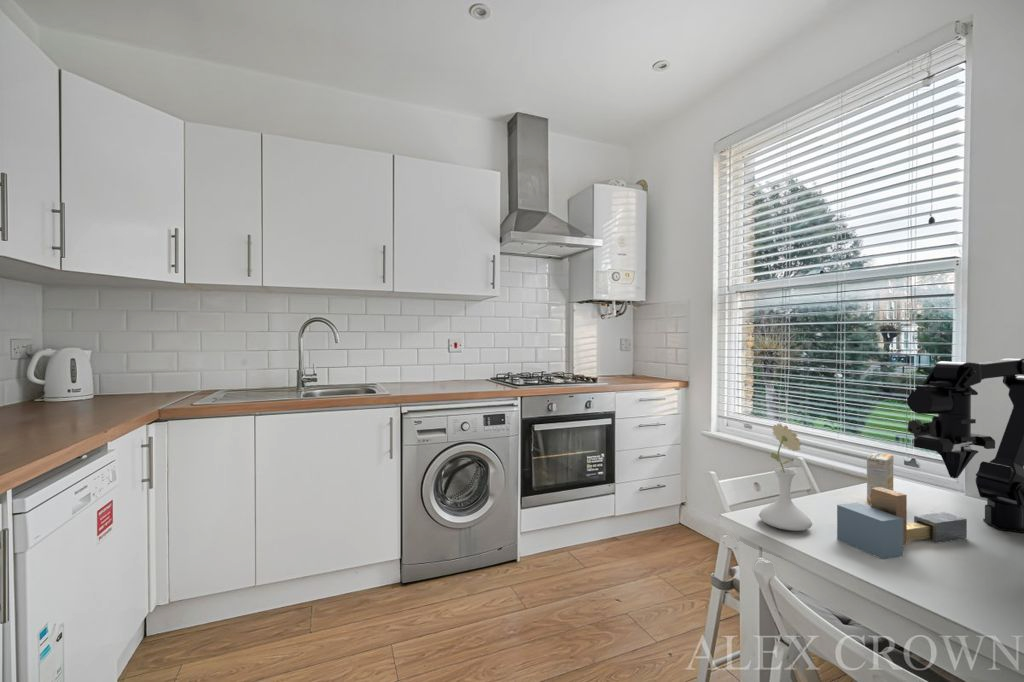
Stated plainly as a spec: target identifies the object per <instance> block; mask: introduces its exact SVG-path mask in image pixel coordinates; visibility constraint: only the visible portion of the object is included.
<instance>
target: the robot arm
mask: <svg viewBox="0 0 1024 682" xmlns="http://www.w3.org/2000/svg"><path fill="white" fill-rule="evenodd" d="M1001 377H1002V383H1003V384H1004V386H1006V387H1007V388H1008V389H1009V390H1008V397H1009V399H1010V401H1011V404H1012V409H1011V413H1010V415H1009V417H1008V420H1007V423H1006V427H1005V429H1004V432H1003V434H1002V438H1001V439H1000V443H999V445H998V449H997V451H996V454H995V457H994V458H993V459H991V460H990V461H985V460H983V461H981V462H980V463H979V467H978V470H977V471H976V473H975V485H976V487H977V491H978V494H979V497H980V498H984V499H986V503H987V504H985V505H984V518H982V520H983V522H984V523H987V524H988V523H989V524H988V525H990V526H991V527H994V528H995V529H997V530H1000V531H1008V532H1009V531H1010V532H1017V533H1024V358H1015V357H1013V358H1012V357H1011V358H1010V357H1009V358H1007V357H1006V358H1004V357H1003V358H1001V359H997V360H996V359H995V360H988V361H978V362H968V361H967V362H965V361H943V360H941V361H938V362H936V363H935V366H933V368H932V369H931V370H930V372H929V374H928V375H927V377H926V379H925V380H924V382H923V383H922V385H920V384H919V385H915V390H913V391H911V393H910V394H909V395H908V397H907V399H906V403H907V405H908V408H909V409H910V410H911V411H912V412H913V413H915V414H918V415H933V416H932V418H931V421H929V422H922V421H921V420H920V419H915V420H908V422H907V423H908V425H907V432H909V433H910V434H912V435H913V437H914V438H912V440H913V445H912V446H913V448H918V449H923V450H927V451H933V452H936V453H938V454H939V455H940V457H941V459H942V461H943V463H944V465H945V468H946V470H947V473H948V476H949V477H950V478H952V479H958V478H959V477H960V475H961V474H962V472H963V471H964V469H965V468H966V467H967V465H969V463H970V461H971V460H972V459H973V458H974V457H975V456H976V454H979V450H975V449H972V446H973V445H974V446H979V447H983V448H984V449H986V450H992V449H996V440H995V439H994V438H993V437H992V436H990V435H984V434H978V433H977V434H976V433H972V431H971V430H972V428H971V427H972V424H976V423H977V421H976V418H972V414H971V413H972V407H971V406H972V396H977V395H979V393H978V392H977V390H975V389H973V388H972V386H975V385H977V384H980V383H981V382H982V380H985V379H993V378H1001ZM935 414H936V415H935Z"/></svg>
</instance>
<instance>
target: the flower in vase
mask: <svg viewBox="0 0 1024 682" xmlns="http://www.w3.org/2000/svg"><path fill="white" fill-rule="evenodd" d="M771 428H772V431H773V432H772V434H773V435H774V436H775V438H776V439H777V441H778V442H779V445H778V448H777V454H776V453H775V452H774V451H772V453H771V454H770V456H769V457H770V458H771V459H773V460H775V461H777V462H779V464H780V467H774V468H773V471H774V472H775V475H776V476H777V478H778V484H779V496H778V499H777V500H776V501H774V502H773V503H770V504H769V505H767V506H765V507H764V508H762V509H761V510H760V512H759V513H758V517H759V518H760V520H761V521H762V522H764V523H765V524H768V526H769V525H770V526H771V527H774V528H777V529H781V530H784V531H792V532H793V531H794V532H797V531H798V532H800V531H801V532H802V531H806V530H809V529H810V528H811V527H812V526H813V522H812V520H811V518H810V517H809V516H808V515H807V514H806V513H805V512H804V511H803V510H802V509H800V507H798V506H797V505H796V504H795V503H794V502H793V500H792V497H791V486H792V481H793V478H794V477H795V476H796V474H797V473H798V471H796V470H794V469H790V468H785V467H784V466H783V465H786V464H788V463H790V462H792V461H794V460H795V459H794V458H792V459H791V460H788V461H786V460H785V461H784V462H783V463H782V460H781V458H780V450H781V447H782V446H783V447H785V448H787V449H788V450H791V451H794V452H796V451H797V452H798V451H801V446H802V444H801V442H800V439H799V438H798V437H797V436H798V435H797V433H796V432H793V430H792V429H790V428H789V426H787V425H784V426H783V424H781V423H776V424H773V425H772V426H771Z"/></svg>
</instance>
